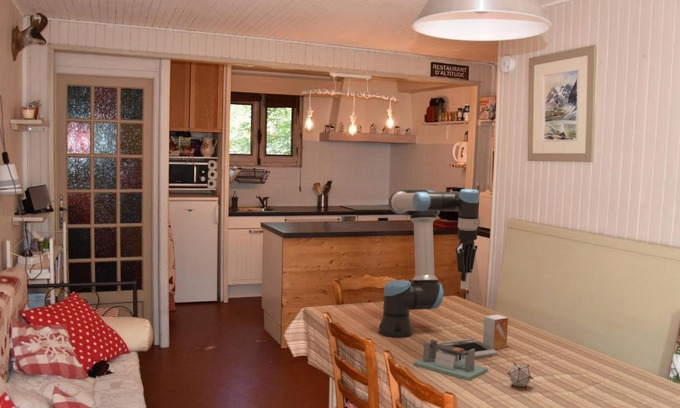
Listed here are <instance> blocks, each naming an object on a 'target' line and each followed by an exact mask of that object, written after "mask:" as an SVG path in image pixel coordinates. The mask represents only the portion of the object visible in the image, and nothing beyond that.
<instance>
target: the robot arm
mask: <svg viewBox="0 0 680 408" xmlns="http://www.w3.org/2000/svg"><path fill="white" fill-rule="evenodd" d="M388 207H389V209H390V210H391V211H392V212H393V213H394V214H398V215H401V216H409V217H410V221H411V222H412V223H413V237H414V238H413V242H414V268H415V270H414V271H415V275H414V277H413V278H411V281H412V283H411V281H409V280H407V279H402V280H401V279H397V280H391V281H388V282H386V283H385V285H384V286H383V287H384V288H383V304H382V305H383V311H382V317H381V321H380V323H379V326H378V334H379V335H381V336H385V337H390V338H399V339H400V338H408V337H411V336H412V335H413V331H414V329H413V327H412V326H413V325H412V322H411V319H410V311H414V310H415V311H416V310H418V311H420V310H436V309H439V307H440V306H441V304H442V303H443V300H444V292H445V291H444V288H443V285H442V283H440V282H439V279H438V277H437V276H436V275H435V255H434V254H435V252H434V249H435V247H434V227H433V225H434V222H435V221H436V218H437V217H438V216H439V214H440V213H441V212H458V217H457V219H458V221H457V228H458V229H457V234H456V235H457V239H458V240H460V241H459V247H455V249H454V250H455V253H456V263H457V272H458V273H460V289H461V290H466V291H467V290H469V289H470V288H469V286H470V273H472V272H473V269H474V266H475V259H476V253H477V249H478V245H475V241H476V240H477V239H478V227H479V226H478V224H479V207H480V192H479V190H478V189H473V188H472V189H471V188H470V189H469V188H462V189H460V190H459V191H451V192H450V191H449V192H448V191H447V192H446V191H443V192H441V191H439V192H438V191H437V192H436V191H434V190H429V189H400V190H396V191H394V192H393V193H392V194H391V195H390V196H389V198H388Z"/></svg>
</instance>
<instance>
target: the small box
mask: <svg viewBox="0 0 680 408" xmlns="http://www.w3.org/2000/svg"><path fill="white" fill-rule="evenodd" d="M483 319H484V320H483V335H482V336H483V337H482V343H483V344H485V345H486V346H488V347H490V348H491V349H494V350H495V351H496V350H500V349H506V348H507V346H508V345H507V343H508V341H507V340H508V327H509V326H508V325H509V317H507V316H504V315H500V314H492V315H491V314H490V315H486V316H484V317H483Z"/></svg>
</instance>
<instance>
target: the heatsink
mask: <svg viewBox="0 0 680 408" xmlns="http://www.w3.org/2000/svg"><path fill="white" fill-rule="evenodd" d="M464 365H465V356H464V355H459V354H455V353H451V352H447V351H442V350H437V351H436V358H435V366H439V367H442V368H446V369H450V370H455V369H458V368H460V367H462V366H464Z"/></svg>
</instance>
